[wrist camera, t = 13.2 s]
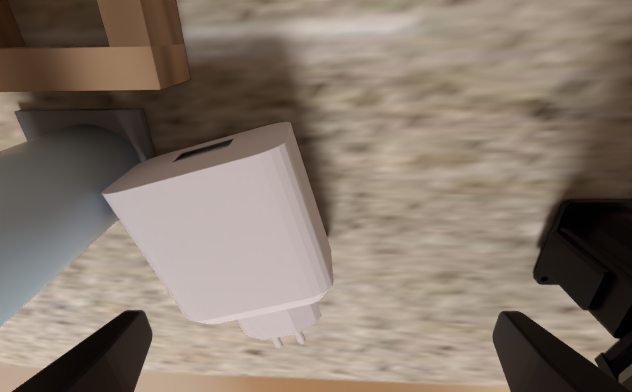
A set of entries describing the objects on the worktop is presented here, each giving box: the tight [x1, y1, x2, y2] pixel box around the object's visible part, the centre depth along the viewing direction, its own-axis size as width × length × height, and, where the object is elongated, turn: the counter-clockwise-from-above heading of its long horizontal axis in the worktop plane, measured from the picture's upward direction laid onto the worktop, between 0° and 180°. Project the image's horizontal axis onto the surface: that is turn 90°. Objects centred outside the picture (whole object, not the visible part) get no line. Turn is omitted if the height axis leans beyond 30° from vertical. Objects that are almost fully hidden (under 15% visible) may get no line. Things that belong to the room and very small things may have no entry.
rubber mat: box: [15, 109, 155, 220], centre depth 19 cm, size 7×7×1 cm
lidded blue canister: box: [0, 124, 141, 327], centre depth 14 cm, size 6×6×12 cm
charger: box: [102, 122, 333, 348], centre depth 19 cm, size 5×9×15 cm
